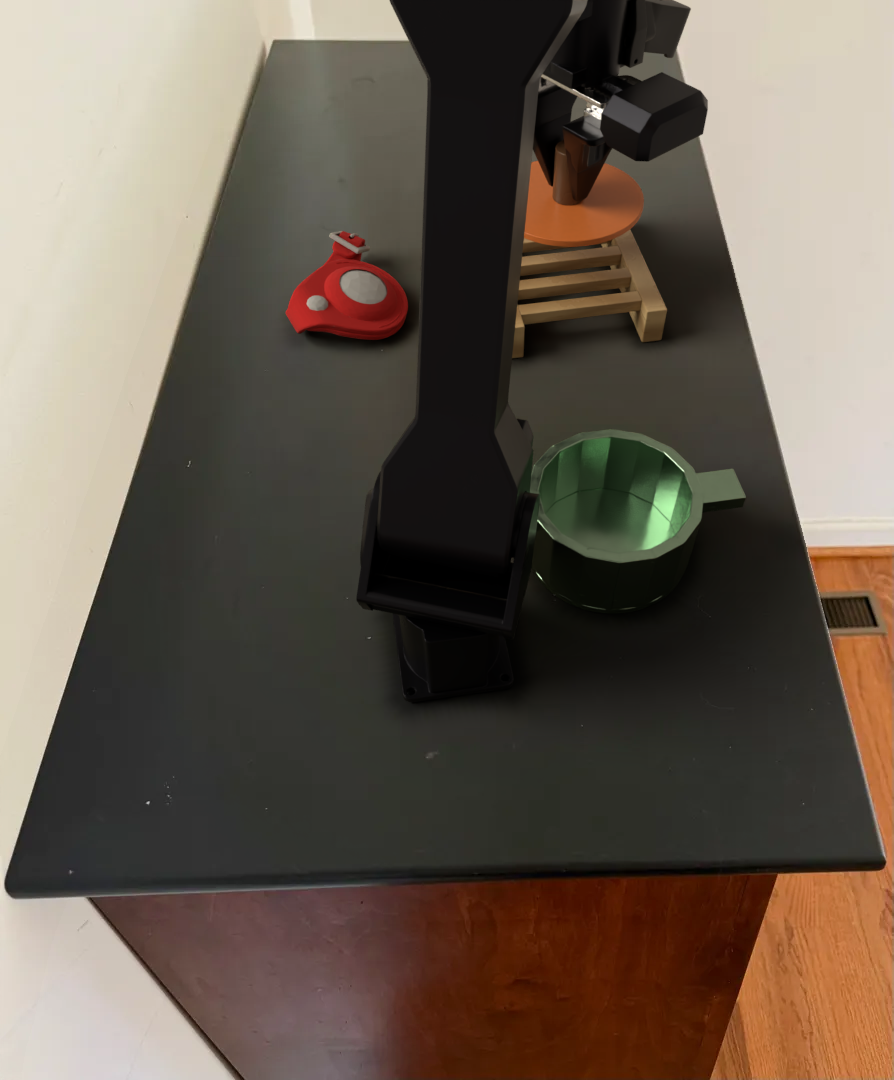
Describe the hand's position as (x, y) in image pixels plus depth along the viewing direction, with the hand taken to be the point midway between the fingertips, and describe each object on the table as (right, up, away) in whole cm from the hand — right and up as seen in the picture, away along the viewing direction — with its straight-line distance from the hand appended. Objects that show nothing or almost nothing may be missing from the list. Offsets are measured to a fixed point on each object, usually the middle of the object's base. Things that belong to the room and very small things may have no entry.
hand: (568, 191), depth 69 cm
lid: (0, -1, +1) cm, 1 cm away
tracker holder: (-17, -7, +7) cm, 19 cm away
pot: (+1, -27, -10) cm, 28 cm away
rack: (0, -5, +7) cm, 9 cm away
